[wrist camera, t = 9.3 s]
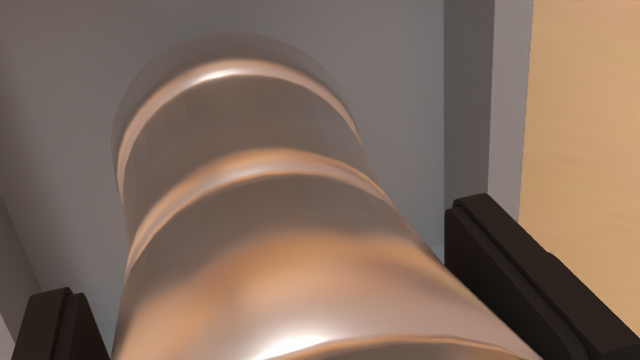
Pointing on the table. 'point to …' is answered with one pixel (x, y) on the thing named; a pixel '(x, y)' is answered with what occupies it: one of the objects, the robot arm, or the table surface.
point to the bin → (280, 23)
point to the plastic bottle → (272, 222)
